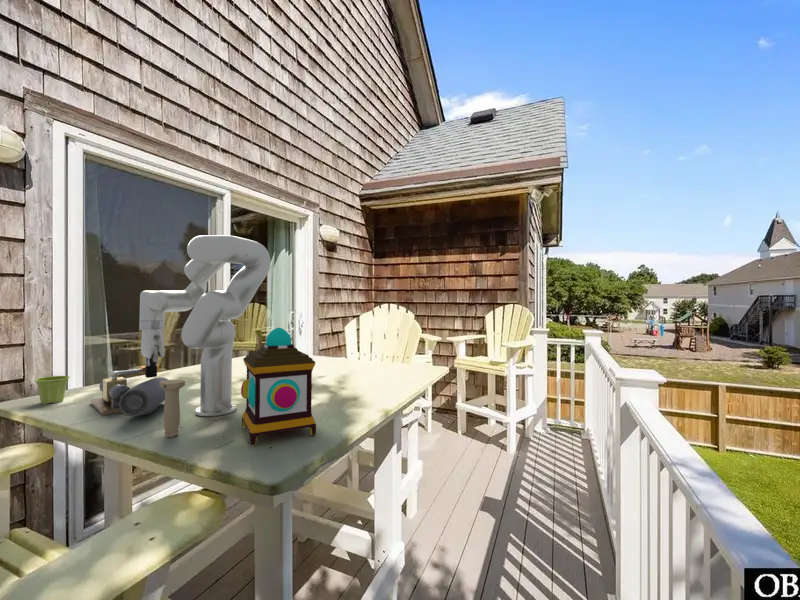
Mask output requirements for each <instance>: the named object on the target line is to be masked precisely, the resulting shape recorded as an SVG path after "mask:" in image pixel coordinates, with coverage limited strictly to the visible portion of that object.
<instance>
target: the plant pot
mask: <svg viewBox="0 0 800 600" xmlns="http://www.w3.org/2000/svg"><path fill="white" fill-rule="evenodd" d="M70 378H71V376H70V375H54V376H53V375H51V376H50V375H49V376H44V377H38V378H36V379H34V381H35V382H36V385H37V387H38V393H39V401H40V403H41V404H42V405H43V404H44V405H45V404H46V405H47V404H48V405H49V404H51V403H52V404H57V403H61V402H63V401H64V398H65V395H66V389H67V383H68V382H69V379H70Z"/></svg>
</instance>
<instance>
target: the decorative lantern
mask: <svg viewBox="0 0 800 600" xmlns="http://www.w3.org/2000/svg"><path fill="white" fill-rule="evenodd" d="M243 363H244V365H245V367H246V379H245V380H243V382H242V384H241V386H240V387H241V388H240V395H241V397H242V398H243V399H246V406H245V410H244V412H243V414H242V416H241V427H242V428H243V427H246V428H245V429H246V430H247V432H248V433H249V441H250V442H249V443H250V445H251V446H252V445H255V444H257V439H258V437H260V436H262V435H270V434H274V433H275V434H276V433H281V432H287V431H293V430H295V431H296V430H299V429H304V428H305V429H306V428H309V433H310V436H311V435H314V436H315V435H316V433H317V423H316V421H315V419H314V416H313V415H312V414H313V413H312V393H313V392H312V390H313V383H312V380H313V379H312V376H313V375H312V374H313V370H314V368H315V366H316V361H315V360H314V359H313V358H312V357H310V355H309V354H306V353H304V352H302V351H300V350H298V348H297V347H295V345H294V344H292V337H291V335H290V333H289V332H288V331H287V330H286V329H284V328H281V327H275V328H274V329H272V330H271V331H270V332H269V333H268V334H267V335H266V338H265V343H263V346H261V347H259V349H256V351H251V352H249V354H247V355H246V356H245V357H243ZM255 446H256V445H255Z"/></svg>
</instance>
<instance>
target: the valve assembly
mask: <svg viewBox="0 0 800 600" xmlns="http://www.w3.org/2000/svg"><path fill="white" fill-rule="evenodd" d="M127 383H128V380H127V378H126V377H124V376H119V375H116V376H111V377H106V378H103V379H102V380H101V381H100V383H99V386H98V387H99V391H101V392H102V394H101V396H102V397H99V398H93V399H90V404H91V405H92V407H94V409H96V410H97V411H98V413H99V414H101V416H107V415H115V414H119V413H123V412H122V411H121V410H120V407H119V401H120V398H121V397H122V395H123V394H124V393H125V392H126V391H128V390H129V389H131V388H130V387H129V386H128V384H127Z"/></svg>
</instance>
